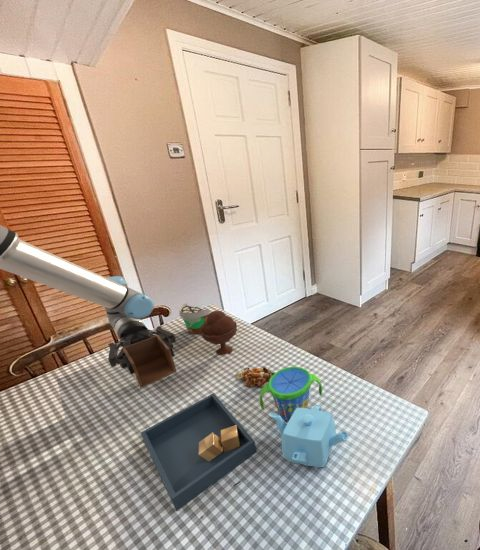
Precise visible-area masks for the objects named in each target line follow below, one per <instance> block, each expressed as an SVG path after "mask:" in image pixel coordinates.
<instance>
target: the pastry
mask: <svg viewBox="0 0 480 550" xmlns="http://www.w3.org/2000/svg"><path fill="white" fill-rule="evenodd" d="M275 373H276V372H274V371H272V369H270V368H268V367H267V366H263V367H262V368H261V367H253V368H252V369H251V368H250V367H244V369H240V370H239V371H237V372H236V373H235V376H236V377H235V378H237V380H240V379H242V381H246V382H245V383H244V387H245V388H246V387H250V388H253V387H255V385H258V387H260V388H263V387H264V386H265V385H266V384H267V383H268V382H269V380H270V378H271V377H272V376H273V375H274V374H275Z"/></svg>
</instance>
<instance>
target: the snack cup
mask: <svg viewBox="0 0 480 550" xmlns="http://www.w3.org/2000/svg"><path fill="white" fill-rule="evenodd" d="M314 382H316V383H317V384H318V395H319V396H323V385H322V382H321V380H320V378H319V377H318V376H317V375H315V374H314V373H311V372H309V370H308V369H306V368H304V367H300V366H288V367H285V368H282V369H279V370H278V371H276V372H275V374H274V375H272V376H271V378H270V380H269V382H268V383H267V384H265V385H264V386H262V387H261V389H260V392H259V405H260V408H261V410H262V411H264V410H265V404H264V401H263V400H264V399H263V396H264V395H265V394H266V393H270V395H271V396H272V399H273V402H274V404H275V407H276V410H277V412H278V413H277V414H278V415H279V416H280V417H281V418H282V419H283V420H285V421H286V422H289V420H290V418H291V416H292V415H293V413H294V411H295V410H296V408H308V409H309V401H310V389H311V386H312V383H314Z"/></svg>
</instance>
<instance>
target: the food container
mask: <svg viewBox="0 0 480 550" xmlns="http://www.w3.org/2000/svg"><path fill="white" fill-rule="evenodd" d="M210 313H211V312H210V310H209V308H206V309H203V308H201V307H198V306H191V305H188V303H184V304H182V305H181V306H180V307H179V317H180V318H182V319H183V322H184V325H185V327H186V330H187V333H188V334H189V335H195V336H196V335H201V329H203V326H204V325H205V324H206V323H207V317H208V315H209V314H210Z"/></svg>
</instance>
